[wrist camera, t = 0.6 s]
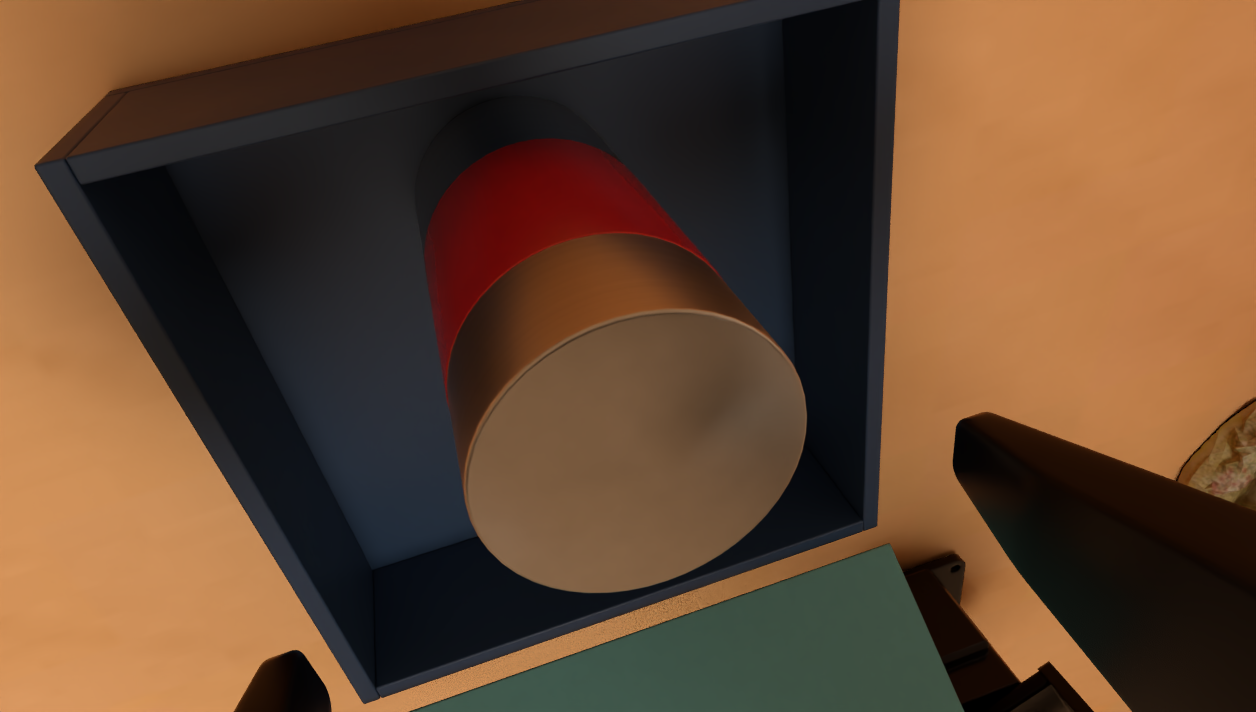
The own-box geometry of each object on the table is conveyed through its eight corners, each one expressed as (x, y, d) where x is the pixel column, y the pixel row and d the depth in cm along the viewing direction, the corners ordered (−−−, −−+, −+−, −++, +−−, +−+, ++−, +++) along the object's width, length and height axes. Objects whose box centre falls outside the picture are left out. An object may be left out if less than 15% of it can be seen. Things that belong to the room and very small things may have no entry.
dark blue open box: (803, 431, 28) (877, 527, 24) (362, 573, 26) (363, 705, 22) (789, -60, 19) (902, -36, 15) (108, 91, 17) (30, 165, 13)
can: (630, 260, 22) (812, 533, 13) (447, 311, 21) (512, 636, 13) (598, 72, 19) (806, 262, 10) (384, 123, 18) (412, 376, 10)
